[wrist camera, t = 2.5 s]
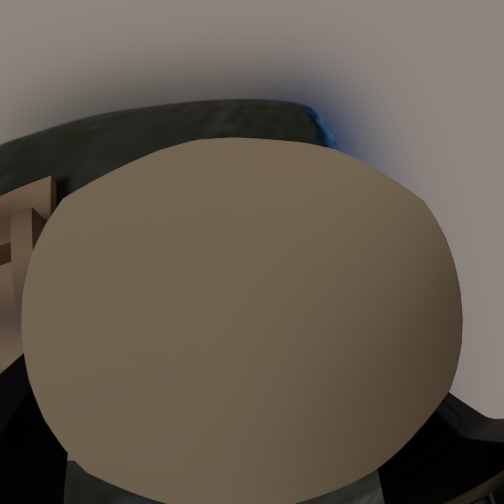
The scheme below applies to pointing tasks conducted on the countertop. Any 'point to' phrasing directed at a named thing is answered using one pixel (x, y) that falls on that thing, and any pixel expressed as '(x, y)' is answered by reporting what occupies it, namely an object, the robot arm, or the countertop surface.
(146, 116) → the countertop surface
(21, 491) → the robot arm
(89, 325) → the handle
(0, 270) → the tan piece
